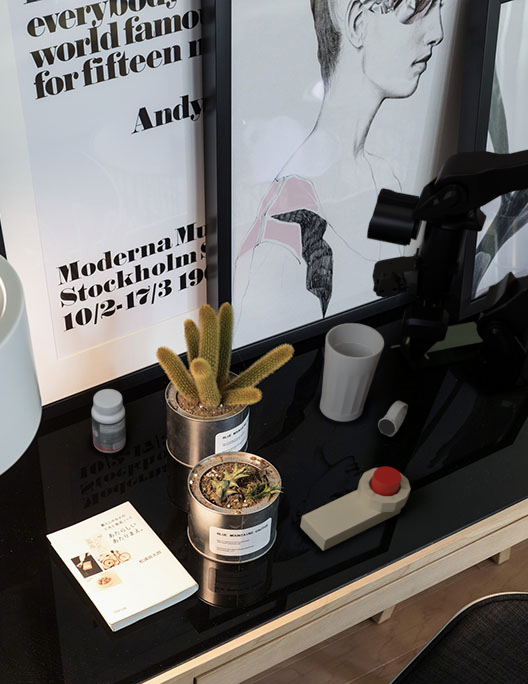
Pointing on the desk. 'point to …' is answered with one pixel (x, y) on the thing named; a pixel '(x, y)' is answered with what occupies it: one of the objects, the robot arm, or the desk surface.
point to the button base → (353, 512)
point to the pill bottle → (108, 421)
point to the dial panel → (448, 347)
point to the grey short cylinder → (398, 414)
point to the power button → (386, 481)
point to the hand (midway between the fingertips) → (416, 342)
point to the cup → (349, 369)
